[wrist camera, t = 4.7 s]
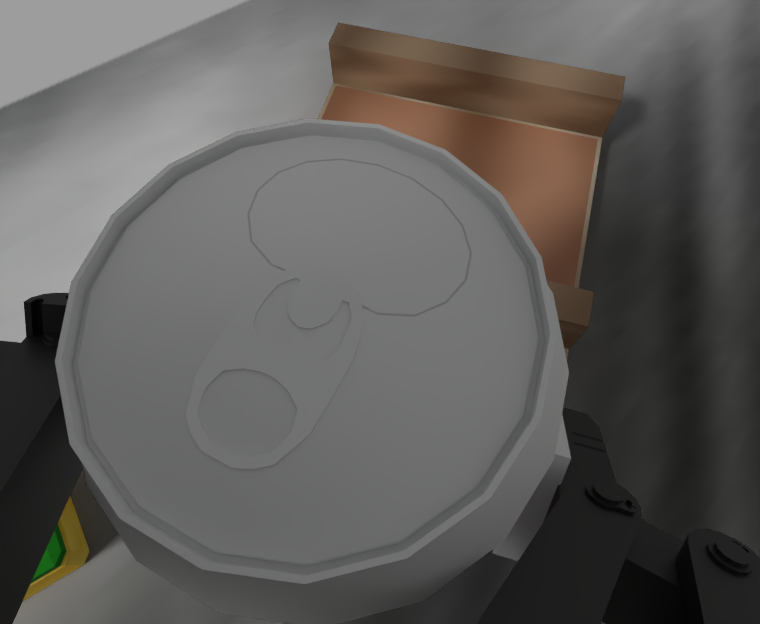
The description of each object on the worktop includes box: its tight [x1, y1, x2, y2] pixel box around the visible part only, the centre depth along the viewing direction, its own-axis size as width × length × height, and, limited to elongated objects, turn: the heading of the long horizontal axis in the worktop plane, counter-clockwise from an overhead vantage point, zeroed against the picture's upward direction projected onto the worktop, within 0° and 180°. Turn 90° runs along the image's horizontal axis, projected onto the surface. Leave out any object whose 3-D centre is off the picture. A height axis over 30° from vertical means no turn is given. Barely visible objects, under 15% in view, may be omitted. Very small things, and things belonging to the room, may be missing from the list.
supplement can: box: [55, 118, 569, 624], centre depth 14 cm, size 8×8×15 cm
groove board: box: [318, 23, 625, 360], centre depth 25 cm, size 14×14×4 cm
